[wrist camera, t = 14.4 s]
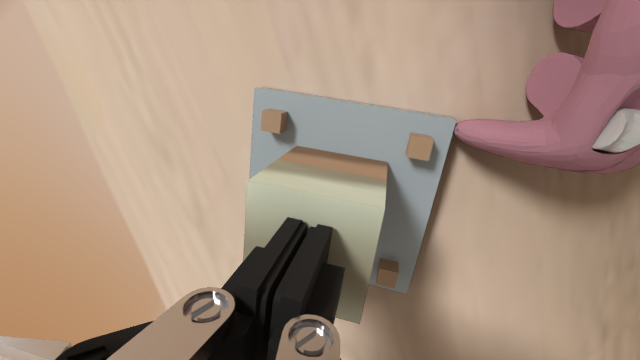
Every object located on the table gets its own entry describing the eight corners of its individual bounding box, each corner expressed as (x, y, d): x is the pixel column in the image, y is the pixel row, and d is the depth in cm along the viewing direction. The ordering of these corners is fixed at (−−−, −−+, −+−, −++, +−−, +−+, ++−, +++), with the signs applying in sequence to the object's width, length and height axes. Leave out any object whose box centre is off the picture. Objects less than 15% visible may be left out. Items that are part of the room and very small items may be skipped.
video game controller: (512, 146, 17) (680, 202, 10) (439, 141, 15) (579, 200, 9) (589, -76, 13) (911, -198, 7) (504, -107, 12) (801, -288, 6)
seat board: (263, 87, 17) (246, 88, 15) (451, 116, 15) (461, 123, 13) (253, 243, 20) (237, 261, 18) (406, 281, 19) (407, 306, 17)
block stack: (296, 145, 16) (247, 181, 11) (387, 161, 15) (385, 209, 10) (288, 225, 18) (241, 291, 12) (370, 244, 17) (359, 324, 12)
